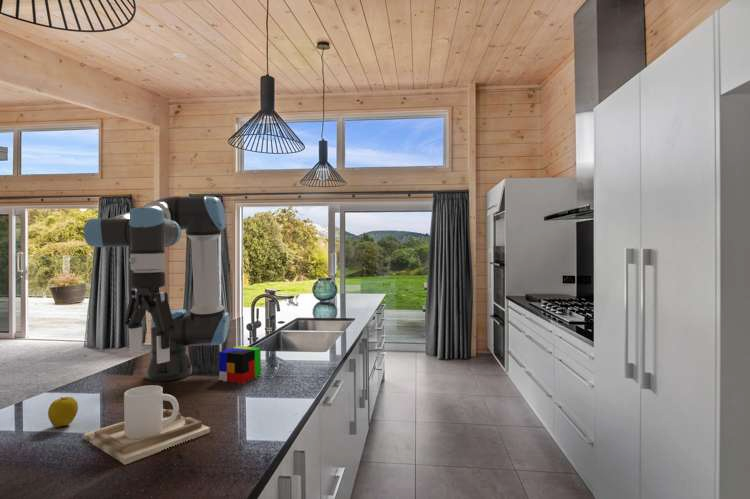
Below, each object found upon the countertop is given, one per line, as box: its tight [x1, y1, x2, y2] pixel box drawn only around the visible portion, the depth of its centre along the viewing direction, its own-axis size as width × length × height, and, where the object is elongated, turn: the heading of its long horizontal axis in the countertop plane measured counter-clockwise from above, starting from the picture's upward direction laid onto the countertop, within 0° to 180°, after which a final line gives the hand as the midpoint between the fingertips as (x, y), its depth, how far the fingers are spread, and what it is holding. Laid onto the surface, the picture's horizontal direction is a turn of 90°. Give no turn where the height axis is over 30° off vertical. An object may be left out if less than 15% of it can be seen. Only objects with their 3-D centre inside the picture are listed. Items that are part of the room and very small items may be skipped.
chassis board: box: [83, 408, 211, 465], centre depth 108 cm, size 22×20×2 cm
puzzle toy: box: [218, 345, 262, 384], centre depth 155 cm, size 10×10×10 cm
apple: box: [47, 396, 79, 428], centre depth 114 cm, size 6×6×8 cm
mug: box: [123, 384, 180, 439], centre depth 107 cm, size 12×8×10 cm
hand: (149, 358), depth 107 cm, fingers open, 13 cm apart
